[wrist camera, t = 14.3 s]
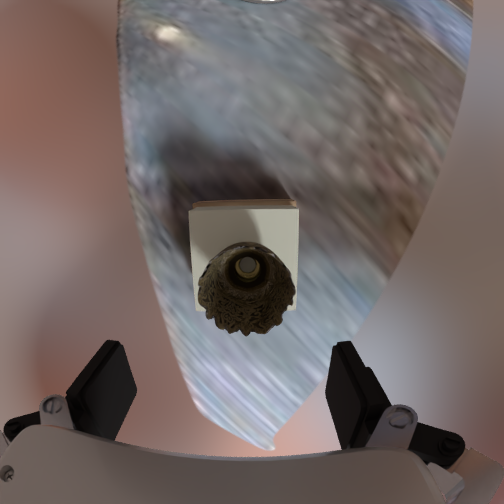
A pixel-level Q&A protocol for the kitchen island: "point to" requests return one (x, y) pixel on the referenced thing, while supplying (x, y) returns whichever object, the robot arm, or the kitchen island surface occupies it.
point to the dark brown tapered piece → (246, 289)
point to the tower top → (243, 236)
